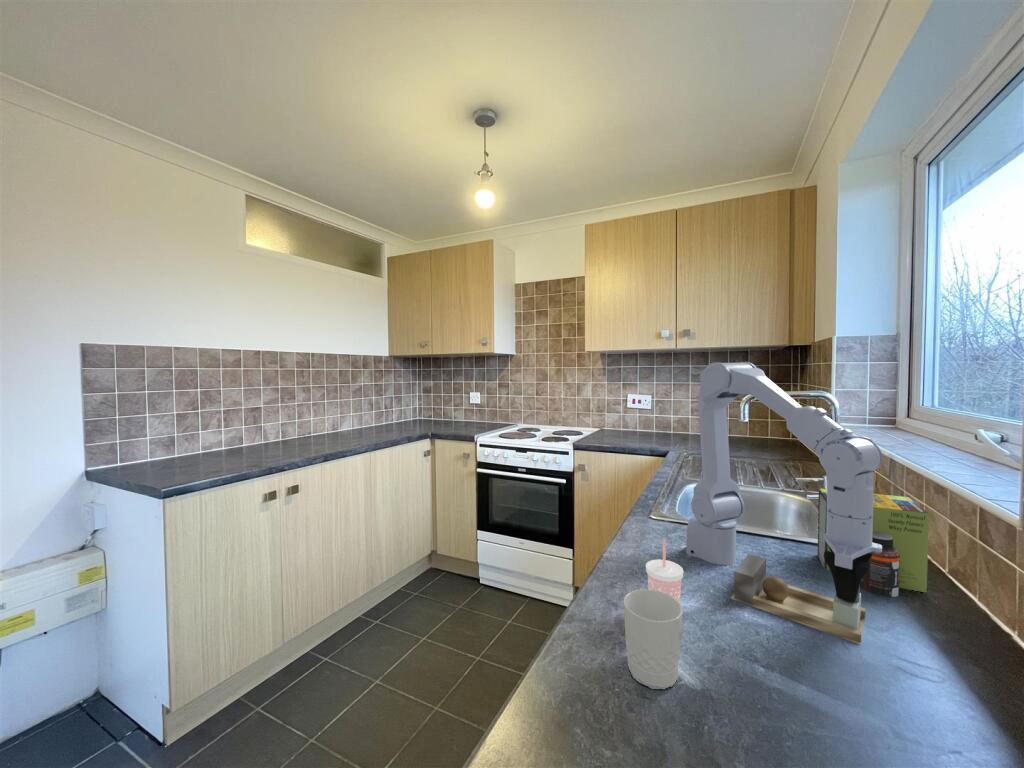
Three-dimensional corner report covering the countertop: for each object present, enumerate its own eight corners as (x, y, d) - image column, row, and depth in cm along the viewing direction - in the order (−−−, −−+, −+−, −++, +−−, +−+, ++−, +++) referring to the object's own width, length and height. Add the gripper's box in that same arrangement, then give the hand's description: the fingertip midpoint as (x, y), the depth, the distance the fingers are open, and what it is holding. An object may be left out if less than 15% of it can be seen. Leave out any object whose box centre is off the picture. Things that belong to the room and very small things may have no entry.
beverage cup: (648, 604, 74) (648, 529, 74) (684, 613, 72) (684, 535, 71) (643, 624, 69) (642, 543, 68) (682, 634, 66) (682, 549, 66)
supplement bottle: (907, 605, 73) (909, 543, 72) (869, 601, 74) (871, 540, 74) (884, 587, 79) (886, 529, 78) (849, 584, 80) (850, 527, 79)
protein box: (928, 594, 76) (931, 513, 75) (825, 575, 83) (827, 501, 83) (907, 569, 85) (909, 496, 84) (816, 554, 92) (817, 487, 92)
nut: (759, 599, 73) (760, 577, 73) (765, 590, 76) (765, 569, 76) (786, 608, 70) (786, 586, 70) (790, 598, 73) (791, 577, 73)
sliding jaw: (832, 625, 65) (833, 577, 65) (837, 609, 70) (838, 563, 69) (857, 634, 63) (858, 584, 63) (860, 616, 67) (861, 569, 67)
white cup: (640, 645, 64) (640, 583, 63) (691, 671, 58) (691, 603, 58) (613, 672, 58) (613, 604, 58) (666, 704, 53) (666, 629, 52)
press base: (730, 604, 74) (730, 571, 74) (746, 582, 81) (746, 552, 81) (860, 652, 61) (861, 612, 61) (865, 621, 69) (866, 585, 68)
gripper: (880, 533, 57) (878, 626, 58) (884, 506, 68) (882, 586, 68) (818, 520, 62) (816, 606, 63) (831, 497, 73) (829, 571, 73)
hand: (847, 595), depth 66 cm, fingers closed on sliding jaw, 3 cm apart
